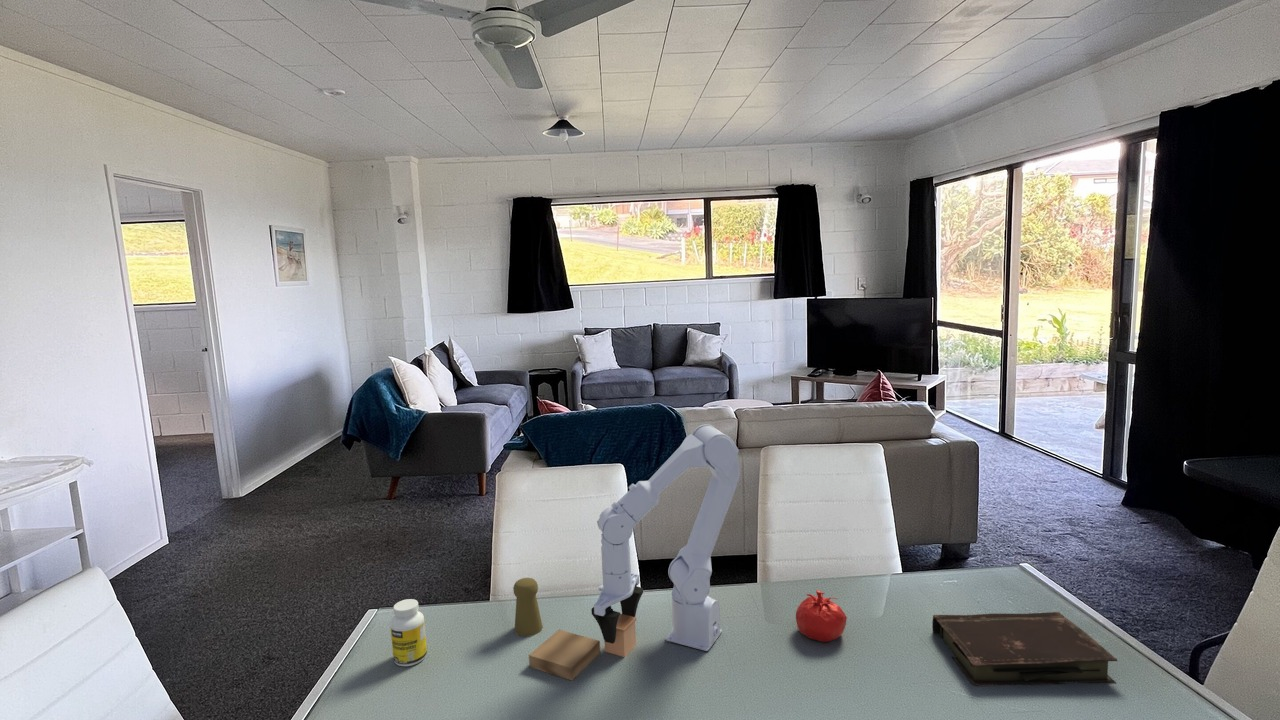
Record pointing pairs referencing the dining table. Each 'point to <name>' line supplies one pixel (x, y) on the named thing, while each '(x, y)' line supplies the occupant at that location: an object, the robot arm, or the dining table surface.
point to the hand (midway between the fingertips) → (619, 632)
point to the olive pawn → (527, 608)
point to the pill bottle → (408, 633)
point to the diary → (1023, 649)
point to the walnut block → (564, 654)
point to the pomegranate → (820, 618)
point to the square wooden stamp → (623, 636)
